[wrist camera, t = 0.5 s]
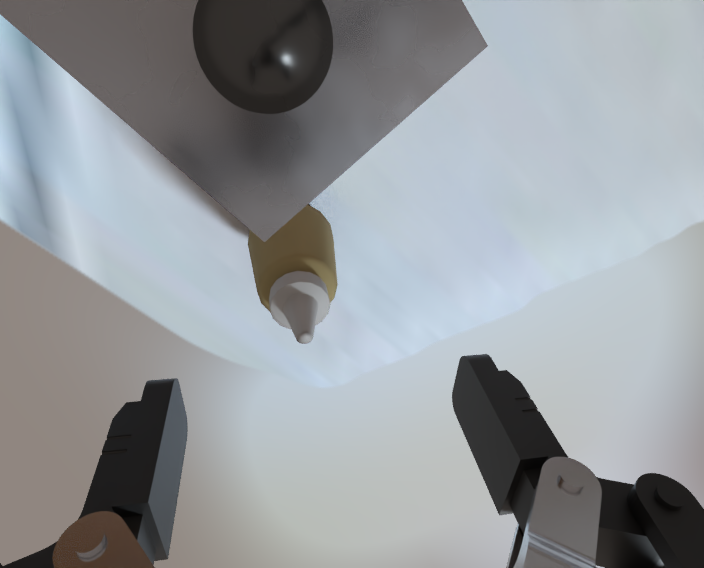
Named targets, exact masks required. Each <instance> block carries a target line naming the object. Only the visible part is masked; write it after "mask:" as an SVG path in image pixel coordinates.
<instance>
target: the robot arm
mask: <svg viewBox="0 0 704 568" xmlns="http://www.w3.org/2000/svg"><path fill="white" fill-rule="evenodd" d="M452 402H453V407H454V411H455V414H456V416H457V419H458V421H459V423H460V425H461V428H462V430H463V432H464V435H465V437H466V439H467V442H468V444H469V446H470V449H471V451H472V453H473V456H474V458H475V460H476V463H477V465H478V467H479V469H480V472H481V474H482V476H483V479H484V481H485V483H486V486H487V488H488V490H489V493H490V495H491V497H492V499H493V502H494V504H495V506H496V509H497V511H498V513H499V515H504V514H512V513H514V515H515V518H516V520H517V522H518V525H517V527H516V531H515V534H514V538H513V542H512V546H511V551H510V554H509V559H508V563H507V567H506V568H596V565H597V566H601V567H605V568H704V509H703V508H702V506H701V505H700V504H699V502H698V501H697V500H696V498H695V497H694V496H693V495H692V494H691V492H690V491H689V490H688V489H687V488H685V487H684V486H683V485H681V484H680V483H679V482H677V481H675V480H673V479H671V478H669V477H667V476H664V475H661V474H656V473H648V474H644V475H642V476H640V477H639V478H638V480H637V481H636V483H635V484H634V485H633V484H627V483H622V482H616V481H610V480H605V479H601V478H598V477H596V476H595V475H594V474H593V472H592V471H591V470H590V469H589V468H587V467H586V466H585V465H583V464H582V463H580V462H578V461H576V460H574V459H571V458H568V456H567V455H566V453H565V452H564V450H563V449H562V447H561V445H560V444H559V442H558V441H557V439H556V437H555V436H554V434H553V433H552V431H551V429H550V428H549V426H548V425H547V423H546V421H545V420H544V418H543V417H542V415H541V413H540V412H538V411H537V407H536V405H535V404H534V402H533V401H532V400H531V399H530V396H529V394H528V393H527V391H526V389H525V388H524V386H523V385H522V383H521V382H520V381H519V380H518V379H516V378H515V377H514V376H513V375H512V374H510V373H509V372H508V371H507V370H505V371H498V369H497V367H496V365H495V364H494V362H493V360H492V359H491V357H490V356H489V355H487V354H483V355H471V356H462V357H461V358H460V361H459V366H458V370H457V375H456V379H455V383H454V388H453V392H452ZM186 441H187V416H186V411H185V407H184V403H183V398H182V394H181V390H180V385H179V382H178V379H163V380H151V381H147V382H146V385H145V388H144V391H143V395H142V399H141V401H138V402H127V403H126V404H125V405H124V406H123V407H122V408H121V410H120V411H119V412H118V413H117V414H116V416H115V417H114V418H113V420H112V423H111V426H110V429H109V432H108V435H107V440H106V441H105V444H104V447H103V450H102V455H101V456H100V459H99V462H98V465H97V468H96V471H95V474H94V477H93V480H92V483H91V486H90V489H89V492H88V496H87V498H86V501H85V504H84V508H83V510H82V513H81V515H80V517H79V519H78V520H77V521H75V522H74V523H73V524H72V525H70V526H69V527H68V528H67V529H66V530H65V531H64V533H63V534H62V535H61V537H60V538H59V540H58V541H57V542H56V543H54V544H52V545H51V546H49V547H47V548H45V549H43V550H41V551H39V552H36V553H34V554H31V555H29V556H27V557H24V558H22V559H19V560H17V561H14V562H12V563H10V564H7V565H5V566H2V565H1V563H0V568H155V567H154V566H153V564H154V561H158V560H165V559H168V555H169V548H170V542H171V536H172V529H173V524H174V517H175V511H176V505H177V497H178V492H179V485H180V479H181V473H182V466H183V460H184V454H185V448H186Z"/></svg>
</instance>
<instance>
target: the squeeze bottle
mask: <svg viewBox="0 0 704 568" xmlns="http://www.w3.org/2000/svg"><path fill="white" fill-rule="evenodd" d="M248 247H249V252H250V257H251V262H252V267H253V272H254V278H255V283H256V288H257V292H258V295H259V298H260V301H261V303H262V304H263V305H264V306H265V307H266V308H267V309H268V310H269V311H270V312H271V314H272V317H273V319H274V320H275V321H276V322H277V323H278V324H279V325H281V326H283V327H286V328H288V329H292V331H293V333H294V335H295V337H296V339H297V341H298V342H299V343H301V344H306V343H309V342H311V340H312V339H313V334H314V328H315V325H317V324H319V323H320V322H322V321H323V319H324V318H325V317H326V315H327V314H328V312H329V308H330V303H331V301H332V300H333V299H334V297H335V293H336V288H337V275H336V264H335V252H334V241H333V235H332V230H331V226H330V223H329V222H328V221H327V220H326V218H325V217H324V216H323V214H322V213H321V212H320V211H318V210H316V209H315V208H313V207H311V206H310V205H308V204H307V205H306V206H305V207H304V208H303V209H302V210H301V211H300V212H298V213H297V214H296V215H295V216H294V217H293V218H292V219H290V220H289V221H288V222H287V223H286V224H285V225H284V226H282V227H281V228H280V229H279V230H278V231H277V232H276V233H274V234H273V235H272V236H271V237H270V238H269V239H268V240H267V241H265V242H264V241H262V240H261V239H260V238H259V237H258V236H257V235H256V234H254V233H253V232H252V231H251V230H249V239H248Z"/></svg>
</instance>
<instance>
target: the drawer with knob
mask: <svg viewBox="0 0 704 568" xmlns="http://www.w3.org/2000/svg"><path fill="white" fill-rule="evenodd" d="M0 14H1V15H2V16H3V17H4V18H5V19H6V20H8V21H9V22H10V23H11V24H12V25H13V26H15V27H16V28H17V29H18V30H19V31H20V32H21V33H23V34H24V35H25V36H26V37H27V38H28V39H30V40H31V41H32V42H33V43H34V44H35V45H37V46H38V47H39V48H40V49H41V50H42V51H44V52H45V53H46V54H47V55H48V56H49V57H50V58H52V59H53V60H54V61H55V62H56V63H57V64H59V65H60V66H61V67H62V68H63V69H64V70H66V71H67V72H68V73H69V74H70V75H71V76H72V77H74V78H75V79H76V80H77V81H78V82H79V83H81V84H82V85H83V86H84V87H85V88H86V89H88V90H89V91H90V92H91V93H92V94H93V95H94V96H96V97H97V98H98V99H99V100H100V101H101V102H103V103H104V104H105V105H106V106H107V107H108V108H110V109H111V110H112V111H113V112H114V113H115V114H116V115H118V116H119V117H120V118H121V119H122V120H123V121H125V122H126V123H127V124H128V125H129V126H130V127H132V128H133V129H134V130H135V131H136V132H137V133H138V134H140V135H141V136H142V137H143V138H144V139H145V140H147V141H148V142H149V143H150V144H151V145H152V146H154V147H155V148H156V149H157V150H158V151H159V152H161V153H162V154H163V155H164V156H165V157H166V158H167V159H169V160H170V161H171V162H172V163H173V164H174V165H176V166H177V167H178V168H179V169H180V170H181V171H183V172H184V173H185V174H186V175H187V176H188V177H189V178H191V179H192V180H193V181H194V182H195V183H196V184H198V185H199V186H200V187H201V188H202V189H203V190H205V191H206V192H207V193H208V194H209V195H210V196H211V197H213V198H214V199H215V200H216V201H217V202H218V203H220V204H221V205H222V206H223V207H224V208H225V209H227V210H228V211H229V212H230V213H231V214H232V215H233V216H235V217H236V218H237V219H238V220H239V221H240V222H242V223H243V224H244V225H245V226H246V227H247V228H249V229H250V230H251V231H252V232H253V233H254V234H256V235H257V236H258V237H259V238H260V239H261V240H262V241H264V242H265V241H267V240H268V239H269V238H270V237H271V236H272V235H273V234H274V233H276V232H277V231H278V230H279V229H280V228H281V227H282V226H284V225H285V224H286V223H287V222H288V221H289V220H290V219H292V218H293V217H294V216H295V215H296V214H297V213H298V212H300V211H301V210H302V209H303V208H304V207H305V206H306V205H307V204H309V203H310V202H311V201H312V200H313V199H314V198H315V197H317V196H318V195H319V194H320V193H321V192H322V191H323V190H325V189H326V188H327V187H328V186H329V185H330V184H331V183H332V182H334V181H335V180H336V179H337V178H338V177H339V176H340V175H342V174H343V173H344V172H345V171H346V170H347V169H348V168H350V167H351V166H352V165H353V164H354V163H355V162H356V161H358V160H359V159H360V158H361V157H362V156H363V155H364V154H365V153H367V152H368V151H369V150H370V149H371V148H372V147H373V146H375V145H376V144H377V143H378V142H379V141H380V140H381V139H383V138H384V137H385V136H386V135H387V134H388V133H389V132H390V131H392V130H393V129H394V128H395V127H396V126H397V125H398V124H400V123H401V122H402V121H403V120H404V119H405V118H406V117H408V116H409V115H410V114H411V113H412V112H413V111H414V110H416V109H417V108H418V107H419V106H420V105H421V104H422V103H423V102H425V101H426V100H427V99H428V98H429V97H430V96H431V95H433V94H434V93H435V92H436V91H437V90H438V89H439V88H441V87H442V86H443V85H444V84H445V83H446V82H447V81H448V80H450V79H451V78H452V77H453V76H454V75H455V74H456V73H458V72H459V71H460V70H461V69H462V68H463V67H464V66H466V65H467V64H468V63H469V62H470V61H471V60H472V59H474V58H475V57H476V56H477V55H478V54H479V53H480V52H481V51H483V50H484V49H485V48H486V47H487V46H488V45H487V44H486V42H485V40H484V38H483V37H482V35H481V33H480V31H479V30H478V28H477V26H476V24H475V23H474V21H473V19H472V17H471V16H470V14H469V12H468V10H467V9H466V7H465V5H464V3H463V2H462V0H0Z"/></svg>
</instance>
